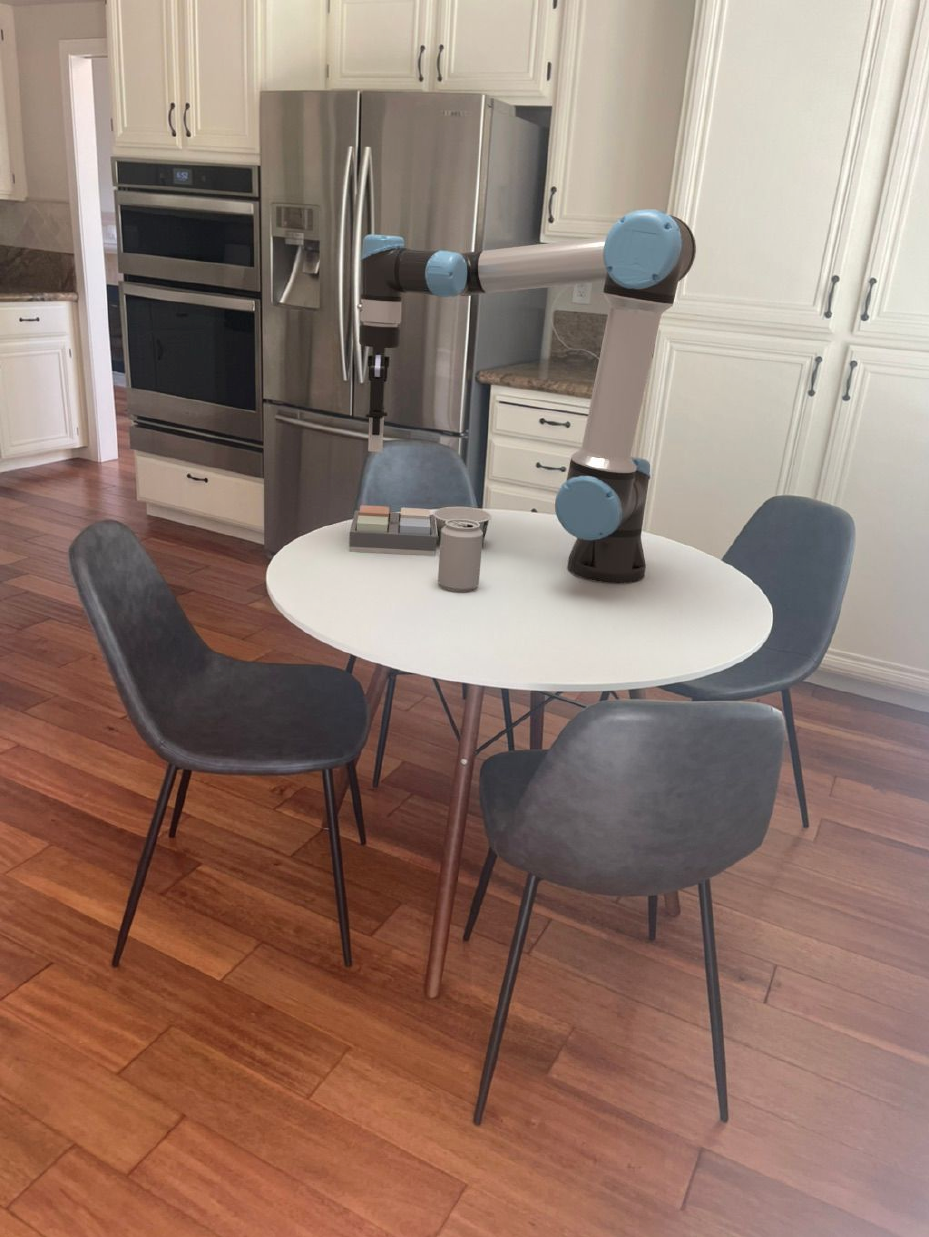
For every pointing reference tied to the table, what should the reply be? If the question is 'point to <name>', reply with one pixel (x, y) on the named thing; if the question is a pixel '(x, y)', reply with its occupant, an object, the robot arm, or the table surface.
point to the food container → (461, 517)
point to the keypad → (392, 539)
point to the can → (460, 555)
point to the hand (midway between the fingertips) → (375, 450)
